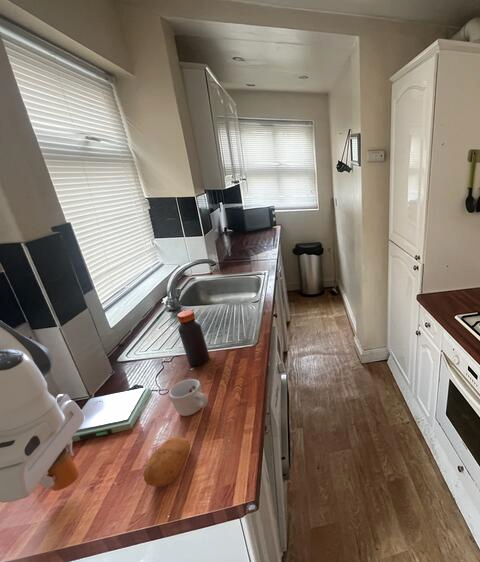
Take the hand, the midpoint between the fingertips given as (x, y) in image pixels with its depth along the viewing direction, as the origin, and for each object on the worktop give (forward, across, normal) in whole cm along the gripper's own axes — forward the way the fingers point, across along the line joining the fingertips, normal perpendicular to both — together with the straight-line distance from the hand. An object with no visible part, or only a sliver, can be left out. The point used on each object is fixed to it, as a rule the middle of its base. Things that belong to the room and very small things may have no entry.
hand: (59, 471), depth 67 cm
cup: (+6, -18, +21) cm, 29 cm away
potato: (+6, +1, +20) cm, 21 cm away
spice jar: (+3, 0, 0) cm, 3 cm away
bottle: (+6, -44, +17) cm, 48 cm away
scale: (+6, -24, -2) cm, 24 cm away
